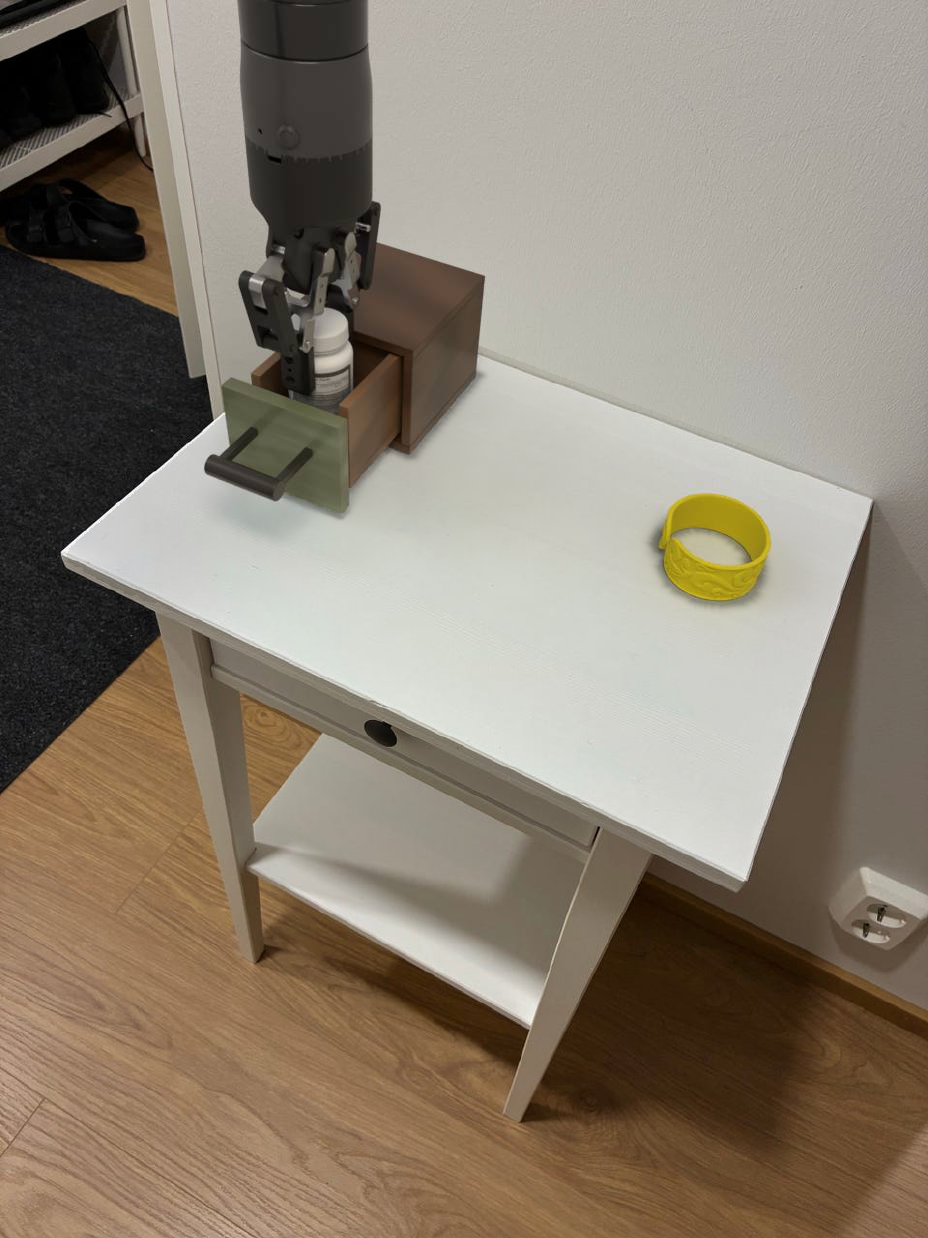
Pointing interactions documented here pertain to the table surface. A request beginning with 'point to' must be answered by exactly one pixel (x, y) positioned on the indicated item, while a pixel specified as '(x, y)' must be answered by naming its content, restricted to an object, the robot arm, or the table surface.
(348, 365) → the pill bottle
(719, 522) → the bracelet
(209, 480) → the table surface
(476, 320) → the cabinet
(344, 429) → the drawer
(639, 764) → the table surface
